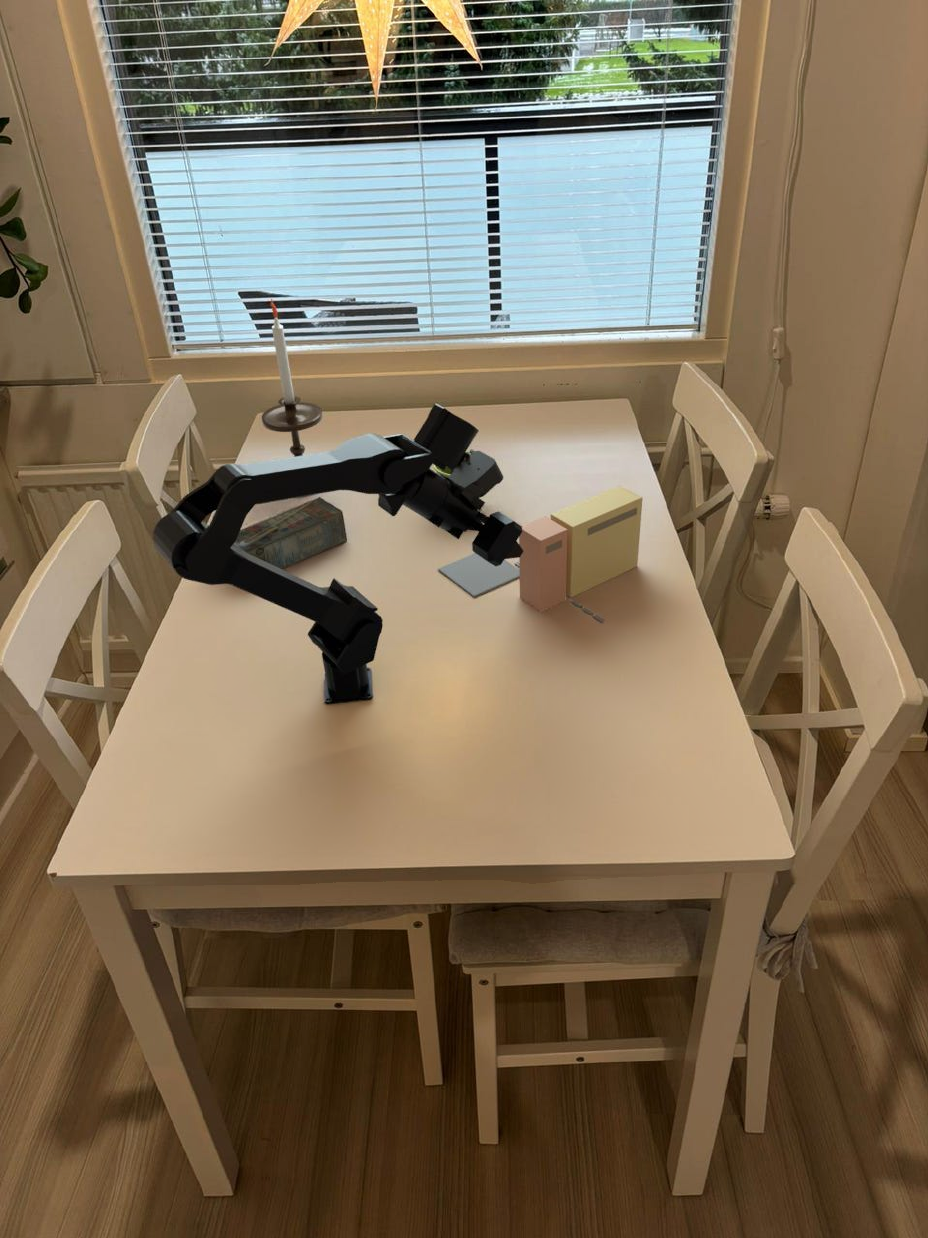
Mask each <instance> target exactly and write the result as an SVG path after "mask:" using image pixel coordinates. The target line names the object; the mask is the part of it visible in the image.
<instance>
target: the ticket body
mask: <svg viewBox="0 0 928 1238" xmlns="http://www.w3.org/2000/svg"><path fill="white" fill-rule="evenodd" d="M642 508H643V496H641V495H639V494H638V493H635V492H633V491H632V490H629V488H626V487H624V486H622V485H618V486H614V487H613V488H610V489H608V490H606V491H603V492H601V493H598V494H596V495H594V496H591V497H589V498H586V499H584V500H581V501H579V502H576V503H574V504H572V505H570V506H567V507H565V508H562V509H560V510H558V511H557V510H556V511H554V512H553V513H550V519H551V520H552V521H554V522H556V523H557V524H559V525H561V526H562V527H564V528H566V529H567V566H566V596H568V597H569V598H573V597H575V596H577V595H579V594H582V593H584V592H586V591H587V590H590V589H592V588H594V587H596V586H599V585H601V584H602V583H605V582H607V581H609V580H612V579H613V578H616V577H618V576H620V575H622V574H624V573H626V572H628V571H630V570H632V569H634V568H637V567H638V561H639V552H640V551H639V549H640V534H641V521H642V511H643V509H642Z"/></svg>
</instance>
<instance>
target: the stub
mask: <svg viewBox="0 0 928 1238" xmlns="http://www.w3.org/2000/svg"><path fill="white" fill-rule="evenodd" d="M521 526H522V533H521V535H520V536H519V538H518V544H519V545H520V546H521V548H522V549H523V553H522V555H521V556H520V557H519V558H518V559H519V561H518V563H519V567H518V569H519V570H520V577H519V598H520V599H521V600H522V601H524V602H525V603H527V604H528V605H530V606H531V607H532V608H534V609H535V610H537V611H538V612H539V613H541V612H543V611H546V610H547V609H550V608H551V607H554V606H556V605H559V604H560V603H563V602H564V601H566V599H567V595H566V566H567V529H566V528H564V527H562V526H561V525H559V524H557V523H556V522H554V521H552V520H551V518H549V517H548V516H543V517H540V518H539V519H538V518H537V519H535V520H533V521H530V522H528V523H525V524H524V525H521Z"/></svg>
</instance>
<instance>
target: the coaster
mask: <svg viewBox="0 0 928 1238" xmlns="http://www.w3.org/2000/svg"><path fill="white" fill-rule="evenodd" d="M437 570H438V571H439V572H440V573H442V574H443V575H444V576H445V577H446V578H447V579H449V580H450V581H451V582H454V583H455V584H456V585H457V586H459V588H461V589H463V590H464V591H465V592H466V593H468V594H469V595H470V596H472V597H473V598H476V597H479V596H480V595H481V596H482V594H485V593H487V592H490V591H492V590H494V589H497V588H499V587H501V586H503V585H505V584H507V583H510V582H512V581H514V580H517V579H520V570H519V567H516V565H513V564H512V563H510V562H509V561H507V559H504V561H503V562H502V564H501V565H499V566H494V565H493V564H491V563H489V562H488V561H486V560H485V559H483V558H482V557H480V556H479V555H477V554H476V553H475V552H473V553H472V554H470V555H467V556H465V557H463V558H460V559H458V560H456V561H453V562H450V563H448V564H446V565H443V566H442V567H439V568H437Z"/></svg>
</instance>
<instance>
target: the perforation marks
mask: <svg viewBox="0 0 928 1238" xmlns="http://www.w3.org/2000/svg"><path fill="white" fill-rule="evenodd" d="M514 566H517V568H519V561H517V562H515V563H514ZM570 602H571V604H572V605H574V606H575V607H577V608H578V609H579V608H581V607H582V609H581V610H582V611H583V612H584V613H586V614H588V615H589V616H592V615H593V614H594V612H593V611H591V610H590V609H589V608H586V607H583V604H581V603H579V602H577V600H575V599H573V600H571V601H570ZM592 618H594V619H595V620H596V621H598V622H599V623H601V624H603V623H605V619H604V618H602V617H601V616H599V615H597V614H596V615H593V617H592Z"/></svg>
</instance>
